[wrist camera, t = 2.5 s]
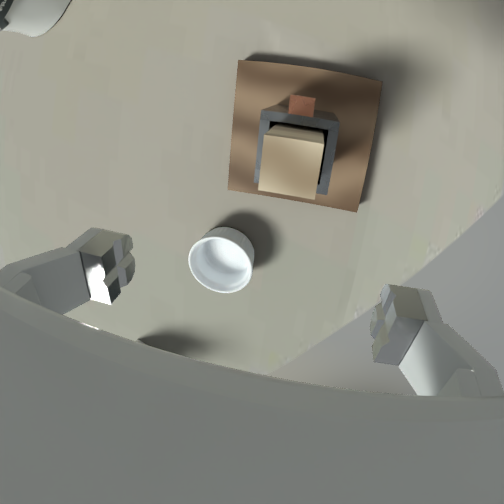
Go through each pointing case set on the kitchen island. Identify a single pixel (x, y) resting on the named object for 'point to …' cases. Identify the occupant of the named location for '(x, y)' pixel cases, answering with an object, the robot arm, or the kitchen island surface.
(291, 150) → the beech post
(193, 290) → the kitchen island surface
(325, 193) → the metal sleeve
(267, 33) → the kitchen island surface
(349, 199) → the stand base
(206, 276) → the ramekin
